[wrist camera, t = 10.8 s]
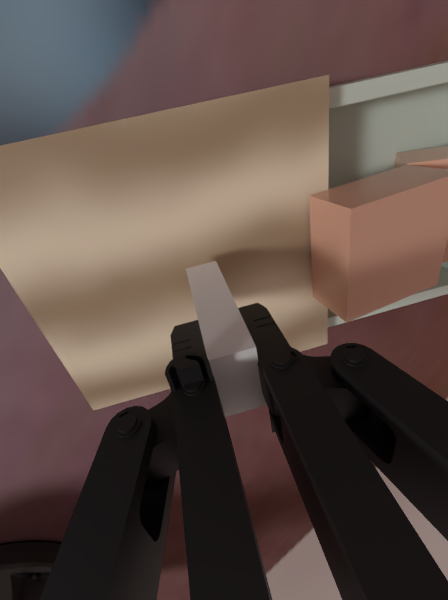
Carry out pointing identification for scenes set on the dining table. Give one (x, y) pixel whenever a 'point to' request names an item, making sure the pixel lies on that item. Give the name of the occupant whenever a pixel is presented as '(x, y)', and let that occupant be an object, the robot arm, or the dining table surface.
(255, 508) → the dining table surface
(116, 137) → the board
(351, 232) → the tile front
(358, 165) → the tray
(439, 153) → the tile rear
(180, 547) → the dining table surface
